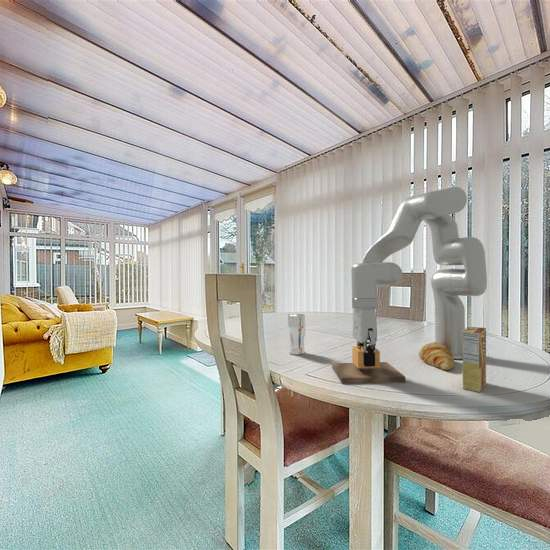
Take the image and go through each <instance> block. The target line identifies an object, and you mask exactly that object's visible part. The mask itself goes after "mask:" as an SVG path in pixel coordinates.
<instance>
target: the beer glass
mask: <svg viewBox="0 0 550 550" xmlns="http://www.w3.org/2000/svg"><path fill="white" fill-rule="evenodd" d="M287 333H288V338H289V339H288V340H289V346H290V347H289V350H288V351H289V353H288V354H289V355H293V356H302V355H301V354H303V355H305V354H304V353H306V351H305V346H304V345H305V343H304V342H305V335H306V316H305V314H303V313H289V314H287Z"/></svg>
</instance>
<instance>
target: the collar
mask: <svg viewBox="0 0 550 550" xmlns="http://www.w3.org/2000/svg"><path fill="white" fill-rule="evenodd" d="M362 347H364V346H357V345H352V346H351V349H352V351H351V352H352V354H351V355H352V363H354V364H355V365H356V366H357V368H380V362H381V358H380V357H381V355H380V354H381V352H380V350H379V349H377V348H376V347H375V366H364V352H365V350H363V351H361V348H362ZM367 347H368V345H367Z"/></svg>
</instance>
